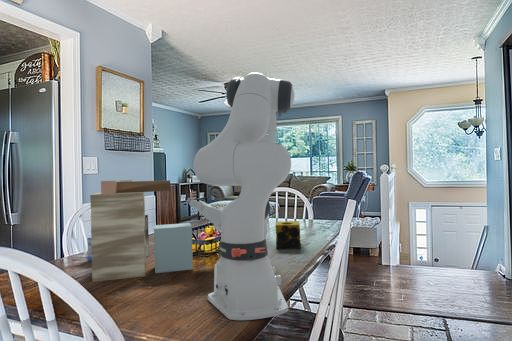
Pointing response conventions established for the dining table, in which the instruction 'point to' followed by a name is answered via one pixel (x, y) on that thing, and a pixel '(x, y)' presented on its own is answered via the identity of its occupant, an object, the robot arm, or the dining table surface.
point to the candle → (288, 235)
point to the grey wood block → (118, 236)
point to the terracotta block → (108, 187)
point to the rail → (143, 186)
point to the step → (173, 247)
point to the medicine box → (89, 249)
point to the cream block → (124, 180)
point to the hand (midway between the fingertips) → (188, 200)
